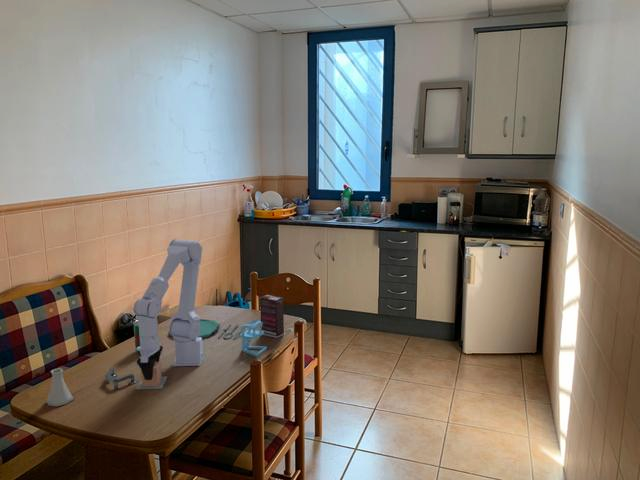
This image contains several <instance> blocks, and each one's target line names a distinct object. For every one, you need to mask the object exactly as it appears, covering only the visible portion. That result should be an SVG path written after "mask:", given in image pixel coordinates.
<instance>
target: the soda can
mask: <svg viewBox="0 0 640 480" xmlns="http://www.w3.org/2000/svg"><path fill="white" fill-rule="evenodd" d="M133 333H134V345H135V352H136V353H137V354H140V355H141V353H140V351H137V347H140V335H139V321H138V320H137V319H136V320H134V324H133Z"/></svg>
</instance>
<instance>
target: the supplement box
mask: <svg viewBox="0 0 640 480" xmlns="http://www.w3.org/2000/svg"><path fill="white" fill-rule="evenodd" d="M259 302H260V303H259V305H260V307H259V308H260V322H262V323H263V324H262V328H261V330H262V331H263V332H264V334H263V335H262V336H267V337H271V338H275V339H279V338H281V337H283V336H284V335H285V331H284V330H285V329H284V327H285V323H284V320H285V319H284V297H281V296H275V295H270V294H265V295H262V296H260V297H259Z"/></svg>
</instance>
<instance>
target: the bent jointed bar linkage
mask: <svg viewBox="0 0 640 480" xmlns="http://www.w3.org/2000/svg"><path fill="white" fill-rule="evenodd" d="M116 377H117V373H115V368H114V367H110V368H109V370H107V372H106V373H105V376H104V378H105V384H106V385H109V384H110V383H111V382H112V383H113V389H114V390H118V389H119V383H121V382H124V381H127V380H129V379H130V380H129V381H128V384H129V385H134V384H136V383H137V382H138V381H137V380H136V378H135V374H133V373H128V374H125V375H123V376H120V377H118V378H116Z"/></svg>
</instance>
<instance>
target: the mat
mask: <svg viewBox="0 0 640 480" xmlns="http://www.w3.org/2000/svg"><path fill="white" fill-rule="evenodd" d="M167 379H168V375H167V376H162V379H161V381H160V383H159V385H158V386H142V379H141V380H140V382H139V383H138V385H137V386H136V388H135V390H158V389H159V390H160V389H161V390H162V389H163V387H164V385H165V383H166V381H167Z"/></svg>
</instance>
